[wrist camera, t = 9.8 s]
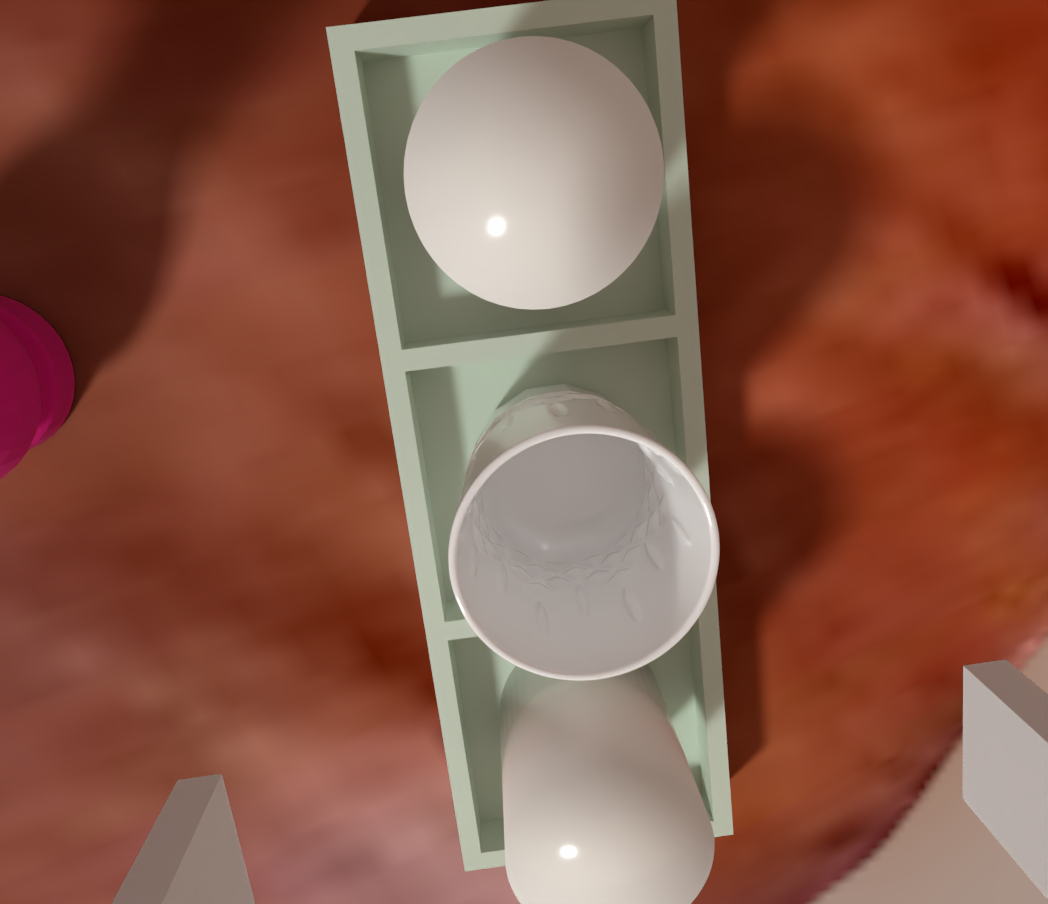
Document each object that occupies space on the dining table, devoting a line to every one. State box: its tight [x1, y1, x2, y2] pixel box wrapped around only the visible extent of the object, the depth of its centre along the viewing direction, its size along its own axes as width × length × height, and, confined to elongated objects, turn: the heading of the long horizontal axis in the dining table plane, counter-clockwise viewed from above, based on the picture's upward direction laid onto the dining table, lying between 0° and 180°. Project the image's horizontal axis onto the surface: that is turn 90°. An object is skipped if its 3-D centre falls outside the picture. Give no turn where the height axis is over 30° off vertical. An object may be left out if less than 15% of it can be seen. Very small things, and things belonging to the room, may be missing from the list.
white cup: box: [448, 383, 720, 681], centre depth 30 cm, size 8×8×10 cm
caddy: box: [326, 0, 733, 871], centre depth 34 cm, size 33×12×3 cm, turn 7°
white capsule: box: [499, 664, 714, 904], centre depth 33 cm, size 7×7×9 cm
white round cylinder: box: [404, 36, 664, 310], centre depth 27 cm, size 7×7×9 cm
